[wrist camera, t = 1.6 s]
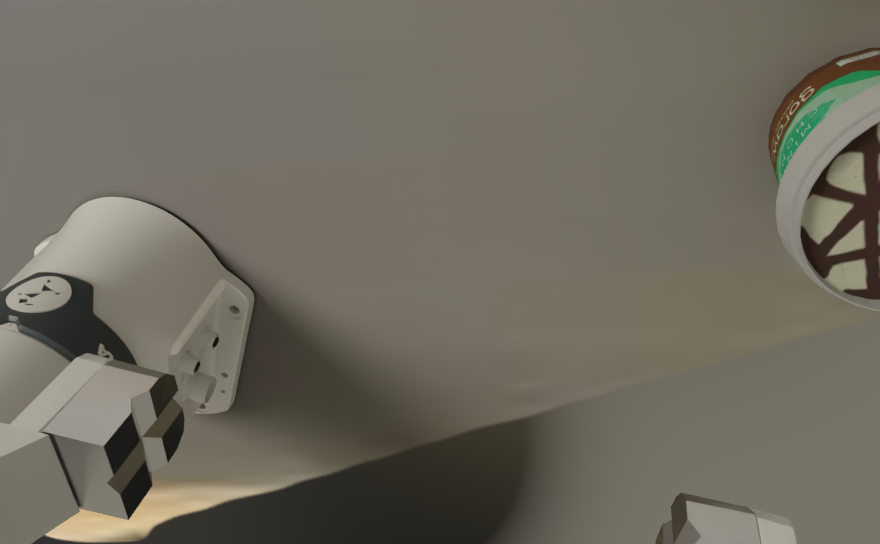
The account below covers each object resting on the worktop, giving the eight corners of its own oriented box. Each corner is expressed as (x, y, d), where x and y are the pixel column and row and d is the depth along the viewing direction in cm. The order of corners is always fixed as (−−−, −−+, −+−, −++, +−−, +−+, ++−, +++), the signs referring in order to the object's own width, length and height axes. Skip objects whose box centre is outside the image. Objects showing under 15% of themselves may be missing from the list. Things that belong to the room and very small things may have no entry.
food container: (778, 14, 36) (831, 71, 27) (904, 17, 35) (998, 78, 26) (725, 215, 42) (755, 308, 34) (829, 223, 41) (885, 321, 33)
